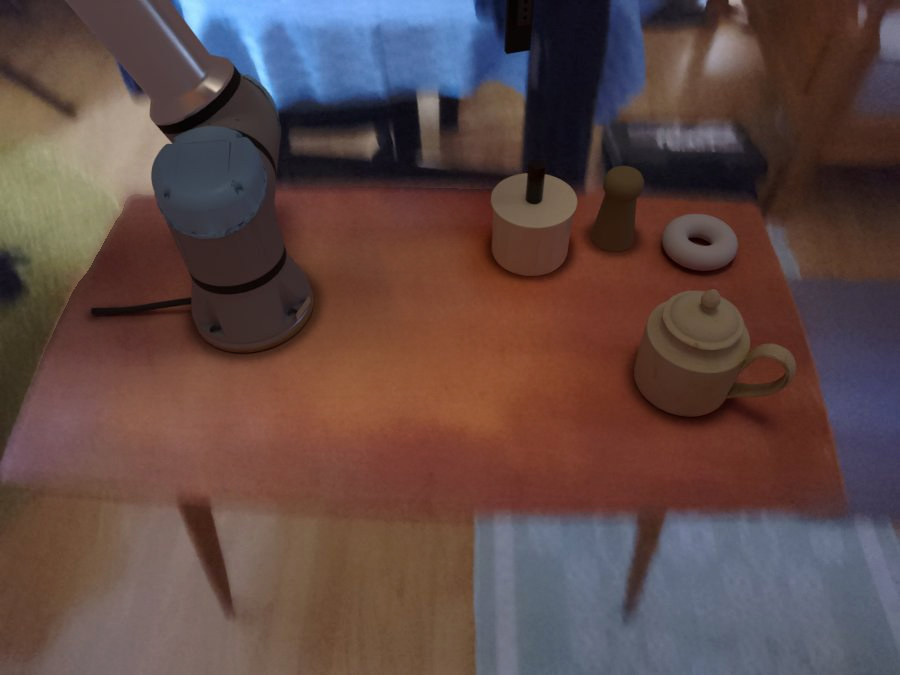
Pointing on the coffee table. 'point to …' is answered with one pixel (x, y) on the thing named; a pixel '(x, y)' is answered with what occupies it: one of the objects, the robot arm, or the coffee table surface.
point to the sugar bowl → (701, 355)
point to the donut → (698, 255)
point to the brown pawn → (618, 209)
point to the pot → (529, 247)
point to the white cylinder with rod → (534, 199)
